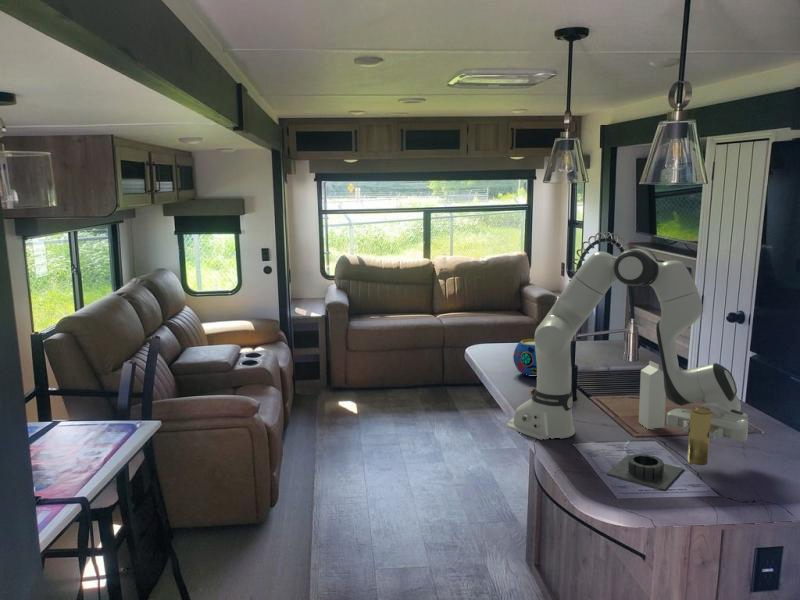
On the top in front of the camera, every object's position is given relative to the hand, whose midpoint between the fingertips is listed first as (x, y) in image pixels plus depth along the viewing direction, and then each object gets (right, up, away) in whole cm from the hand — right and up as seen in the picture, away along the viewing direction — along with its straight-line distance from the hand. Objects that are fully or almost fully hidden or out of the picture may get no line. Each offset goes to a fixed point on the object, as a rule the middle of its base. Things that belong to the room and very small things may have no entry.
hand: (698, 433), depth 169 cm
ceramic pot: (-21, +2, +108) cm, 110 cm away
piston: (+1, -8, +2) cm, 8 cm away
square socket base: (-10, -14, +12) cm, 21 cm away
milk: (+6, -8, +47) cm, 48 cm away
